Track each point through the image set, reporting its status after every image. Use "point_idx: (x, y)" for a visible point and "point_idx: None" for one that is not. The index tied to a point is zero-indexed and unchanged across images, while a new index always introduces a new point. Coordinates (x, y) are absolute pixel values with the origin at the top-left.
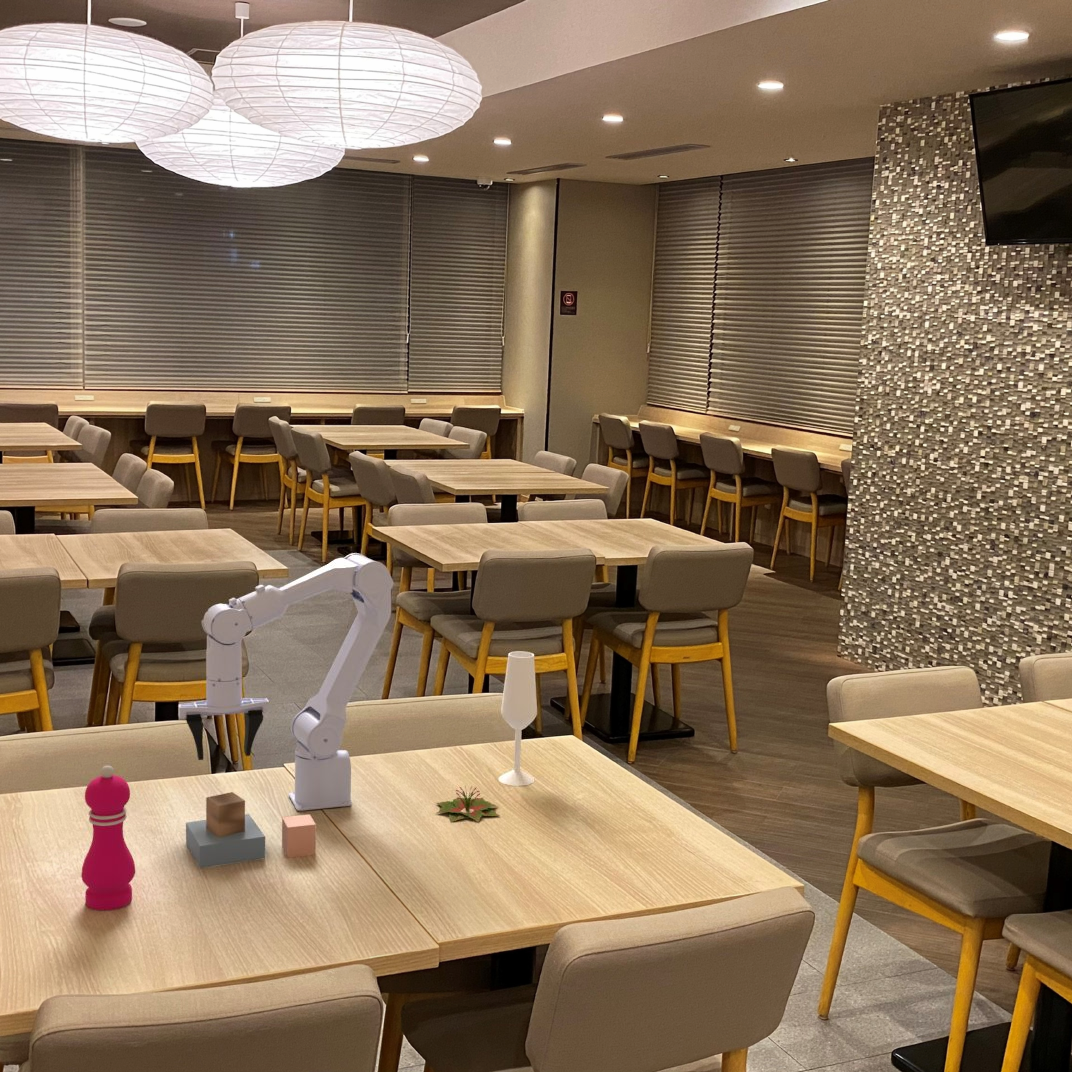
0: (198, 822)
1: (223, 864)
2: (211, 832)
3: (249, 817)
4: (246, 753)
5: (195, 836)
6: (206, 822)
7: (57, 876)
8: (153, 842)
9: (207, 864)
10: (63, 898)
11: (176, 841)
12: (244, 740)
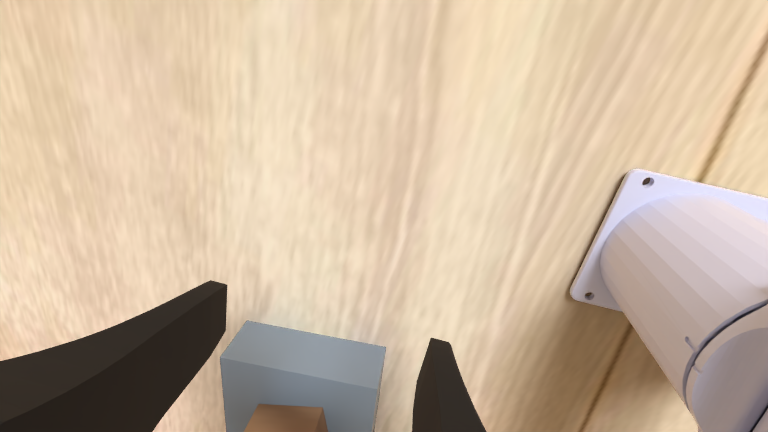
0: (247, 371)
1: None
2: None
3: (370, 405)
4: (415, 396)
5: (228, 425)
6: (252, 417)
7: (15, 327)
8: (182, 279)
9: None
10: None
11: (229, 299)
12: (434, 377)
